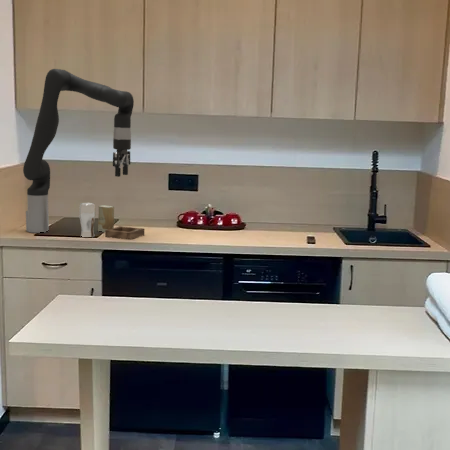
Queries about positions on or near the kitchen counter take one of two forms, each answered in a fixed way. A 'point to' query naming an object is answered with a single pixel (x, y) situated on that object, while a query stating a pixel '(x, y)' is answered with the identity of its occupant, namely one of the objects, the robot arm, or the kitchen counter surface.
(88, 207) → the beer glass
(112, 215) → the skincare box
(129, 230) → the square wooden tray
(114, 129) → the robot arm
